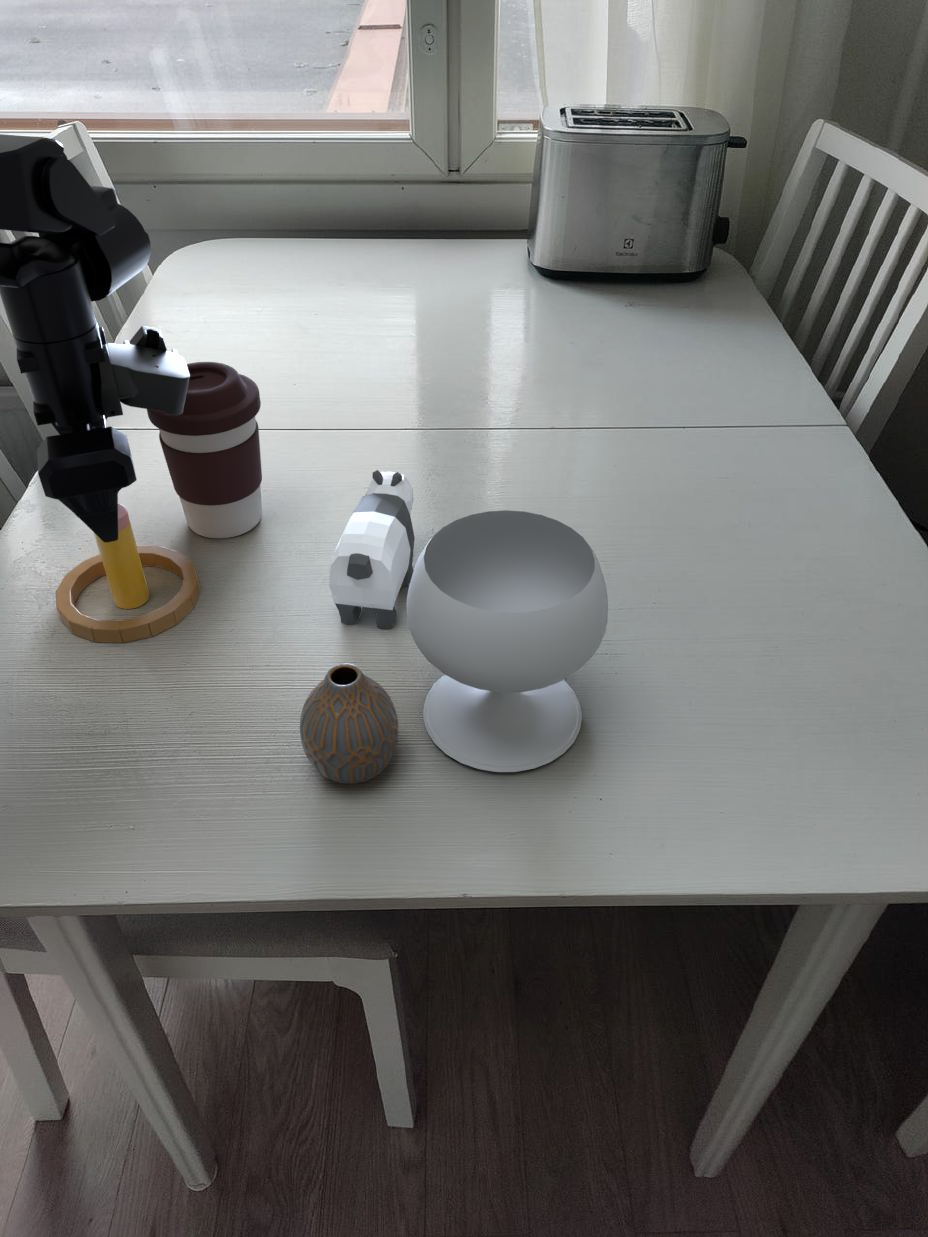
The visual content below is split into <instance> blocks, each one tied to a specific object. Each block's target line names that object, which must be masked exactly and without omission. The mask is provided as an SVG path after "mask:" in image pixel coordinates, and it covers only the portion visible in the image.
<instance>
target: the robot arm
mask: <svg viewBox="0 0 928 1237" xmlns="http://www.w3.org/2000/svg"><path fill="white" fill-rule="evenodd" d="M64 151H65V148H64V146H63V144H62V143H61V142H59V141H58V140H57V139H55V138H50V137H43V136H31V135H30V136H28V135H17V134H15V135H14V134H5V133H4V134H3V133H2V134H1V133H0V231H1V230H2V231H10V232H11V231H13V232H23V233H33V234H34V233H35V234H38V236H37V235H24V236H21V237H17V238H16V239H14V240H12V241H11V242H9V243H7V242H0V299H1V302H2V305H3V308H4V311H5V314H6V318H7V321H8V324H9V327H10V330H11V334H12V338H13V341H14V344H15V347H16V362H17V365H18V368H19V371H20V374H25V378H26V382H27V385H28V388H29V391H30V394H31V397H32V400H33V401H32V404H33V405H32V406H33V415H34V419H35V422H36V425H37V426H44V425H51V426H52V427H53V428H54V429H55V431H56V432H57V433H58V434H55V435H49V436H45V438H44V440H43V441H42V442H41V444H40V445H39V447H38V448H36V461H37V475H38V479H39V481H40V484H41V487H42V490H43V493H44V496H45V497H46V498H50V499H53V500H58V501H59V503H61V504H62V505H64V506H65V507H66V508H67V509H68V510H69V511H71V512H72V513H73V515H75V516H76V517H77V518H78V519H79V520H80V521H82V523H83V524H85V526H87V528H89V530H91V531H92V533H93V534H94V533H95V534H96V535H97V536H98V537H99V538H100V539H101V540H102V541H103V542H106V543H107V542H112V541H117V540H118V504H119V493H120V491H121V490H122V489H124V488H127V487H129V486H131V485H133V484H134V483H135V482H137V475H136V470H135V464H134V460H133V456H132V452H131V447H130V443H129V440H128V435H127V434H125V433H123V432H122V431H120V430H118V429H116V428H114V427H113V426H107V420H108V418H113V417H118V416H119V417H120V416H124V412H123V407H122V404H123V405H125V406H128V407H131V408H137V409H145V410H147V409H150V410H157V411H163V412H164V413H165V414H167V415H180V414H182V413H183V410H184V405H185V399H186V394H187V389H188V384H189V378H190V374H189V371H188V368H187V365H186V364H187V362H186V360H185V358H184V357H183V356H182V355H181V354H179V352H178V350H177V349H175V348H171V351H169V350H168V347H167V345H166V342H165V339H164V337H163V333H162V330H161V329H160V328H157V327H151V326H145V325H142V326H140V327H139V329H138V330H137V331H136V332H135V333H134V335H133V336H132V337H131V339H130V340H126V339H124V340H123V343H122V344H120V343H113V342H108V341H107V338H106V334H105V330H104V327H103V326H99V323H98V321H97V319H96V318H97V317H96V315H95V311H94V307H93V303H92V302H98V301H102V300H103V299H105V298H107V297H108V296H111V294H113V293H114V292H115V291H116V290H118V289H119V288H120V287H121V286H123V285H124V284H126V283H127V282H129V281H130V280H131V279H133V278H134V277H135V276H137V275H138V274H139V273H140V272H142V271H143V270H144V269H145V268H146V267H147V265H148V263H149V261H150V259H151V253H152V249H151V248H152V247H151V241H150V236H149V233H148V232H147V231H146V230H145V228H144V226H143V224H142V223H141V221H140V220H139V219H138V218H137V216H136V215H135V214H134V213H132V211H131V210H130V209H128V208H126V207H125V206H124V205H122V204H120V203H119V202H118V199H117V194H116V193H117V192H116V189H115V188H114V187H111V186H100V185H99V186H98V185H90V184H89V182H88V181H87V179H86V178H85V177H84V175H82V173H81V171H80V170H79V169H78V168H77V167H76V165H75V164H74V163H73V162H72V161H71V160H70V159H68V157H67V155H66V153H65V152H64Z"/></svg>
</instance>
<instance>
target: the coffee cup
mask: <svg viewBox="0 0 928 1237" xmlns="http://www.w3.org/2000/svg"><path fill="white" fill-rule="evenodd" d="M186 365H187V368H188V371H189V374H190V378H189V384H188V389H187V394H186V399H185V405H184V410H183V413H182V414H180V415H167V414H165V413H164V412H163V411H157V410H150V409H146V414H147V417H148V420H149V421H150V423H151V424H152V425H153V426H154V427H155V428H157V429H158V431H159V433H158V438H159V443H160V446H161V450H162V453H163V456H164V460H165V463H166V466H167V469H168V472H169V476H170V479H171V483H172V485H173V488H174V491H175V494H176V495H177V496H178V497H179V499H180V504H181V507H182V510H183V515H184V518H185V520H186V524H187V525H188V527H189V528H190V529H191V530H192V531H193V533H195V534H197V535H199V536H201V537H205V538H209V539H228V538H234V537H237V536H241V535H243V534H245V533H248V532H249V531H251V530H252V529H254V528H255V527H256V526H257V525H258V523H259V522H260V521H261V519H262V516H263V503H262V502H263V501H262V487H261V484H262V481H263V474H262V473H263V472H262V471H263V470H262V457H261V443H260V430H259V428H260V427H259V423H258V421H257V419H256V416H257V415H258V413H259V412H260V410H261V403H262V402H261V395H260V389H259V386H258V384H257V383H256V382H255V381H254V380H253V379H252V378H250V377H248V376H246V375H244V374H241V373H239V372H238V371H237V369H236V368H234V367H232V366H230V365H228V364H225V363H221V362H217V361H196V362H190V363H186Z"/></svg>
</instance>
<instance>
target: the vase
mask: <svg viewBox="0 0 928 1237" xmlns="http://www.w3.org/2000/svg"><path fill="white" fill-rule="evenodd" d="M299 736H300V743H301V745H302V749H303V753H304V754H305V756H306V758H307V760H308V761H309V763H310V764H311V766H312V767H313V768H314V769H315V770H316V772H318V773H319V774H320V775H321V776H323V777H325V778H326V779H328V780H331V781H333V782H336V783H339V784H347V785H349V784H350V785H352V784H360V783H363V782H366V781H369V780H371V779H372V778H375V777H376V776H378V775H379V774H380V773H381V772H382V771H384V770H385V769H386V767H387V766H388V765H389V763H390V762H391V760H392V759H393V756H394V755H395V751H396V749H397V745H398V740H399V717H398V714H397V710H396V707H395V704H394V702H393V700H392V698H391V697H390V695H389V694H388V692H387V691H386V689H385V688H384V687H383V686H382V685H380V684H379V683H378V682H377V680H374V679H373V678H371V677H369V676H367V675H365V674H364V672H362V670H361V668H360V667H358V666H356V665H355V664H353V663H339V664H336V665H333V666H331V667H330V668H329V670H327V672H326V674H325V676H324V678H323V679H321V681H320V682H319V683H318V684H317V685H315V687H313V689H312V690H311V691H310V693H309V694H308V695H307V697H306V699H305V701H304V704H303V706H302V710H301V713H300V718H299Z"/></svg>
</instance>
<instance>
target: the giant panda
mask: <svg viewBox="0 0 928 1237" xmlns="http://www.w3.org/2000/svg"><path fill="white" fill-rule="evenodd" d="M414 499H415V498H414V487H413V485H412V484H411V482H410V481H409V479H408V478H407V476H406V475H405V474H403V473H400V472H398V471H396V472H394V471H379V470H378V469H376V470H375V471H373V472H372V479H371V481H370V483H369V485H368V487H367V489H366V492H365V493H364V495H362V497H361V498H360V500H359V502H358V504H357V505H356V506H355V509H354V510H353V512H352V513H351V515H350V518H349V520H348V522H347V523H346V525H345V528H344V530H343V532H342V535H341V537H340V539H339V540H338V542H337V543H338V544H337V545H336V548H335V549H334V551H333V553H332V557H331V562H330V568H329V570H330V571H329V589H330V592H331V596H332V599H333V603H334V604H335V606H336V608H337V610H338V614H339V618H340V623H342V624H345V625H347V626H348V625H349V626H350V625H356V624H357V623H358V621H359V620H360V619H361V615H362V610H363V608H371V609H372V610H373V611H374V613H375V614H376V627H377V628H380V629H383V630H389V629H392V628H393V627H394V625H395V623H396V620H397V618H398V617H397V616H398V615H397V614H398V612H397V609H396V605H397V604H396V603H397V599H398V596H399V592H400V589H401V588H405V587H409V586H410V581H411V578H412V575H413V571H414V568H413V560H414V549H415V539H416V537H415V532H414V527H413V522H412V518H411V514H412V509H413V504H414V501H415V500H414ZM362 607H363V608H362Z"/></svg>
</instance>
